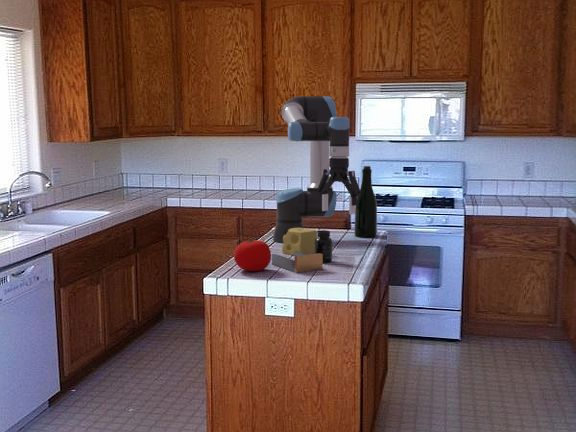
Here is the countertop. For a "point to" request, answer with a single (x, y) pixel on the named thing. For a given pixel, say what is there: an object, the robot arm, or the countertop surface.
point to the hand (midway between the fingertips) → (338, 212)
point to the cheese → (299, 241)
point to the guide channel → (299, 262)
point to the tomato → (252, 255)
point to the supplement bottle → (324, 245)
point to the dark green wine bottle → (366, 208)
